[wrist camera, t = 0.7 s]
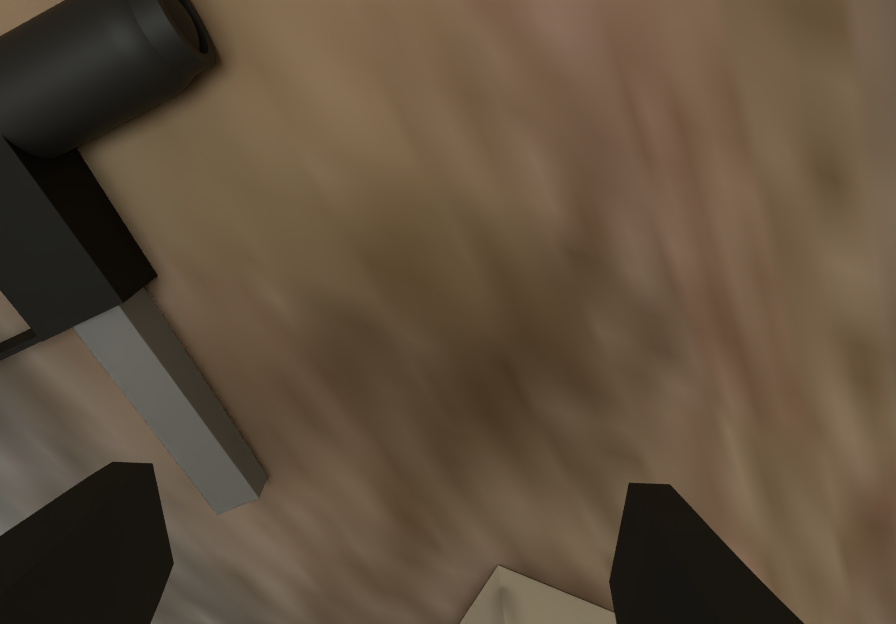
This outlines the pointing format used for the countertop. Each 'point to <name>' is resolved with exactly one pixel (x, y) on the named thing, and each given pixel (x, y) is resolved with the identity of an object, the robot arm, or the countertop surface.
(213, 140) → the countertop surface
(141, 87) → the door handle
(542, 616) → the bay
